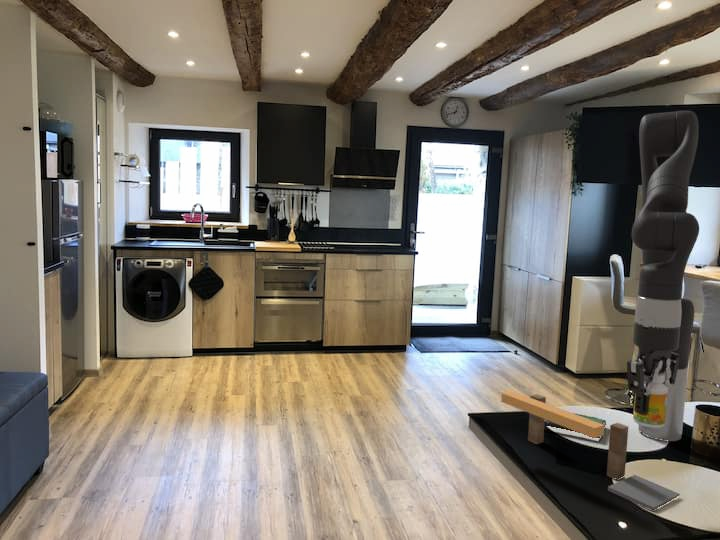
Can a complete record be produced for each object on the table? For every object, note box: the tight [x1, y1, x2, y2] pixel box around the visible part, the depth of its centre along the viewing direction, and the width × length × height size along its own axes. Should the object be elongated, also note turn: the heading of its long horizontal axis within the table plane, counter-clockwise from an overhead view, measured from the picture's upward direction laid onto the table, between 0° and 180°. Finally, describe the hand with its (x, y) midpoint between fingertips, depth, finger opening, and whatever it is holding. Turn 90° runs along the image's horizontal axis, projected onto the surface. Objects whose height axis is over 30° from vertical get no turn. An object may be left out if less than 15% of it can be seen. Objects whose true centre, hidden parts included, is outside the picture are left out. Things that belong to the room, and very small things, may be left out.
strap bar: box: [500, 390, 605, 438], centre depth 119 cm, size 3×23×2 cm, turn 34°
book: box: [607, 474, 681, 512], centre depth 110 cm, size 9×9×1 cm
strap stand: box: [527, 393, 629, 479], centre depth 125 cm, size 2×22×11 cm, turn 34°
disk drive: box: [544, 412, 607, 438], centre depth 142 cm, size 10×3×15 cm
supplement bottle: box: [632, 373, 668, 428], centre depth 108 cm, size 5×5×10 cm
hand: (649, 409), depth 108 cm, fingers closed on supplement bottle, 5 cm apart
